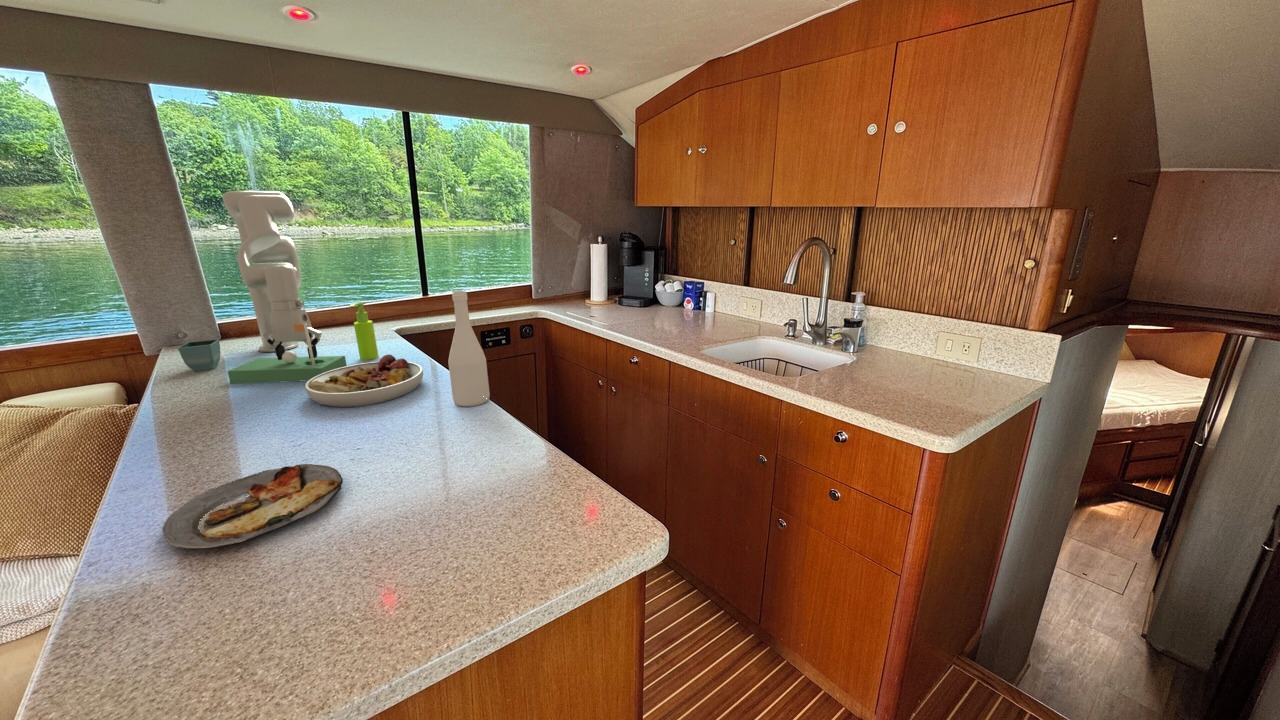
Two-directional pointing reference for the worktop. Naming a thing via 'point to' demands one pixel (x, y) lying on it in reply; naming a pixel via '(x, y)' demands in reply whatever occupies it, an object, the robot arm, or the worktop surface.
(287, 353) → the ball
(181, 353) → the flower pot
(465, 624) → the worktop surface
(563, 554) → the worktop surface
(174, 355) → the worktop surface
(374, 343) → the soap dispenser
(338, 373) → the bowl
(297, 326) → the putting mat
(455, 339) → the wine bottle
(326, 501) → the food plate
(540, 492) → the worktop surface
